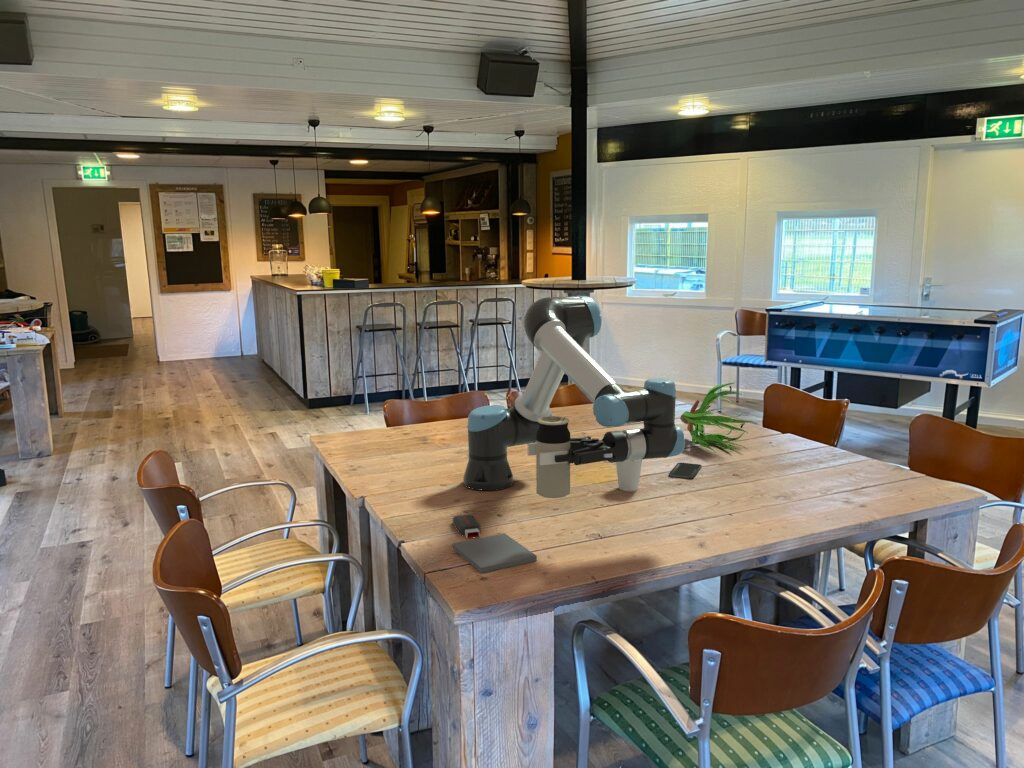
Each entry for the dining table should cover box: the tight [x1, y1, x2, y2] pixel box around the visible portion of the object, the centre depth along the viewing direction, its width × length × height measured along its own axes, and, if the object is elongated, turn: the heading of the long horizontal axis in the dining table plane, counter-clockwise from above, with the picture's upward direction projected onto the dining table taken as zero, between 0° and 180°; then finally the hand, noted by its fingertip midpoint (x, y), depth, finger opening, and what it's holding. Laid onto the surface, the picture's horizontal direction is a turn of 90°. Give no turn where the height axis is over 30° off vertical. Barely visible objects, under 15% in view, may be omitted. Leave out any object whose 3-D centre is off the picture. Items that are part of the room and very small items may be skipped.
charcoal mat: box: [452, 532, 538, 574], centre depth 176 cm, size 16×14×1 cm
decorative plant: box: [679, 382, 753, 453], centre depth 271 cm, size 26×25×30 cm
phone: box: [668, 462, 703, 480], centre depth 240 cm, size 8×1×15 cm
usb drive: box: [452, 513, 481, 539], centre depth 192 cm, size 5×12×3 cm, turn 16°
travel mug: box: [535, 415, 571, 499], centre depth 178 cm, size 8×8×18 cm
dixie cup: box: [615, 459, 643, 492], centre depth 223 cm, size 8×8×10 cm
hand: (534, 454), depth 176 cm, fingers closed on travel mug, 8 cm apart
